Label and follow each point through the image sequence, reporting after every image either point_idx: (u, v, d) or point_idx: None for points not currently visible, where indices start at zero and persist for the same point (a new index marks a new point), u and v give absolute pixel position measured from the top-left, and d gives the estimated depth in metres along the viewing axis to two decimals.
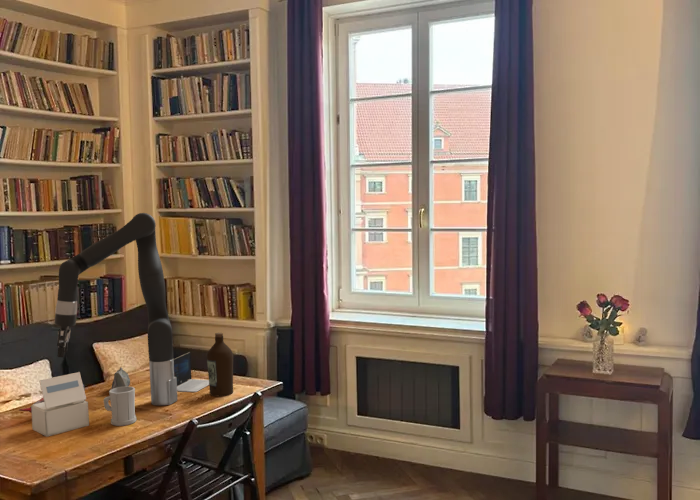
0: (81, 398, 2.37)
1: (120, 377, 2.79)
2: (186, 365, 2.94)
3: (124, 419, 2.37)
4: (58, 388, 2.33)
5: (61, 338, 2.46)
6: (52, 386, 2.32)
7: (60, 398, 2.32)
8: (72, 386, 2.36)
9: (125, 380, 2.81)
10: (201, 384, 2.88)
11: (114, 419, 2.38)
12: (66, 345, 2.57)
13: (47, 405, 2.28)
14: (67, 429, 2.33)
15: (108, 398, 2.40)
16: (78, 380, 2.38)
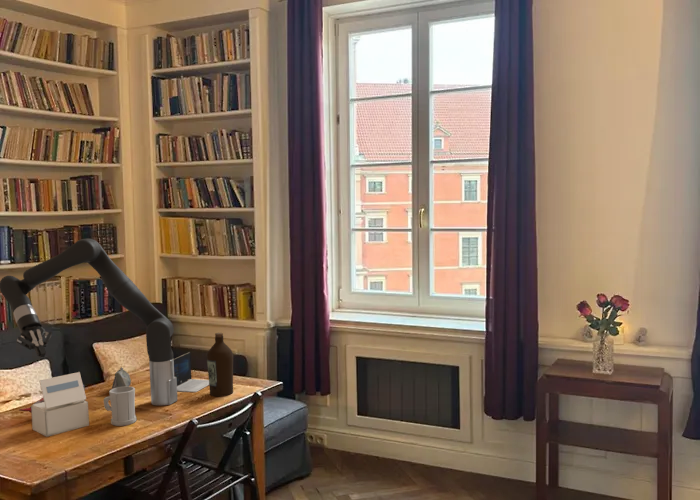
0: (81, 398, 2.37)
1: (120, 377, 2.79)
2: (186, 365, 2.94)
3: (124, 419, 2.37)
4: (58, 388, 2.33)
5: (23, 343, 2.44)
6: (52, 386, 2.32)
7: (60, 398, 2.32)
8: (72, 386, 2.36)
9: (125, 380, 2.81)
10: (201, 384, 2.88)
11: (114, 419, 2.38)
12: None
13: (47, 405, 2.28)
14: (67, 429, 2.33)
15: (108, 398, 2.40)
16: (78, 380, 2.38)
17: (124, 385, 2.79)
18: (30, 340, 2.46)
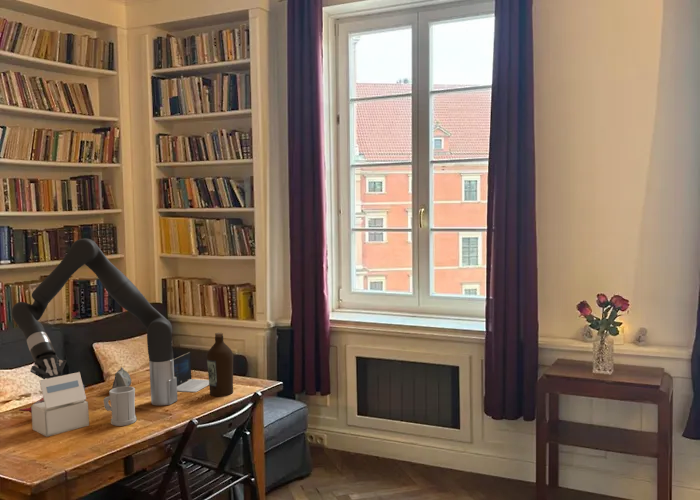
0: (81, 398, 2.37)
1: (120, 377, 2.79)
2: (186, 365, 2.94)
3: (124, 419, 2.37)
4: (58, 388, 2.33)
5: (37, 373, 2.37)
6: (52, 386, 2.32)
7: (60, 398, 2.32)
8: (72, 386, 2.36)
9: (125, 380, 2.80)
10: (201, 384, 2.88)
11: (114, 419, 2.38)
12: None
13: (47, 405, 2.28)
14: (67, 429, 2.33)
15: (108, 398, 2.40)
16: (78, 380, 2.38)
17: (124, 385, 2.79)
18: (44, 369, 2.39)
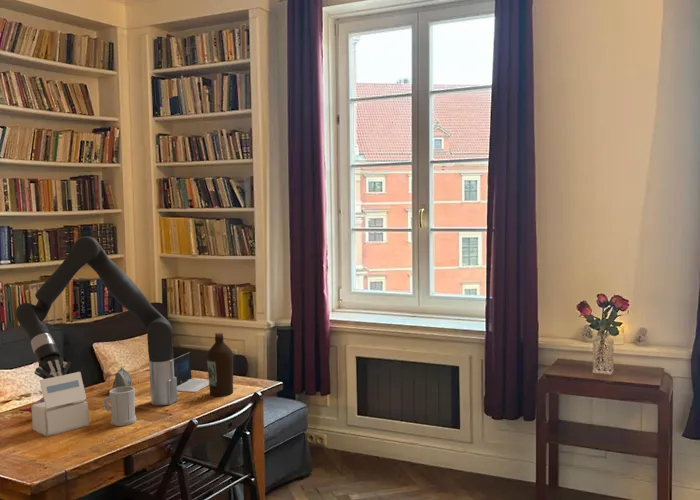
0: (81, 398, 2.37)
1: (121, 377, 2.79)
2: (186, 365, 2.94)
3: (124, 419, 2.37)
4: (58, 388, 2.32)
5: (41, 375, 2.34)
6: (53, 385, 2.32)
7: (60, 398, 2.32)
8: (72, 386, 2.36)
9: (126, 380, 2.80)
10: (201, 384, 2.88)
11: (114, 419, 2.38)
12: None
13: (47, 405, 2.28)
14: (67, 429, 2.33)
15: (108, 398, 2.40)
16: (78, 380, 2.38)
17: (124, 385, 2.79)
18: (48, 371, 2.36)
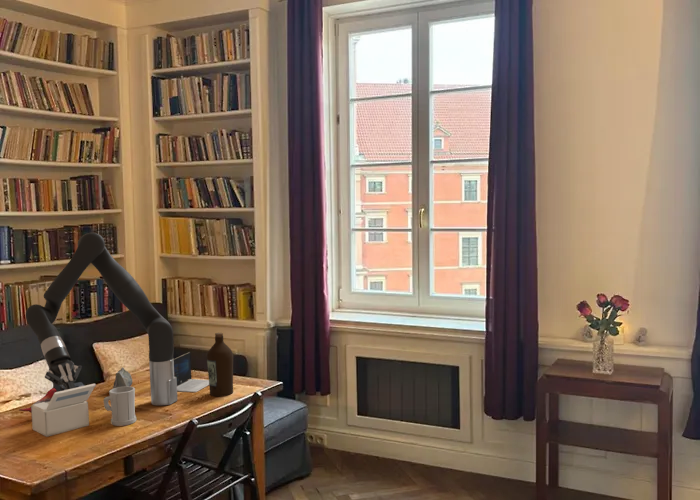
0: (82, 400, 2.36)
1: (121, 377, 2.79)
2: (186, 365, 2.94)
3: (124, 419, 2.37)
4: (67, 397, 2.28)
5: (52, 379, 2.28)
6: (63, 396, 2.26)
7: (64, 402, 2.30)
8: (81, 394, 2.32)
9: (126, 380, 2.80)
10: (201, 384, 2.88)
11: (114, 419, 2.38)
12: None
13: (49, 408, 2.27)
14: (67, 429, 2.33)
15: (108, 398, 2.40)
16: (89, 390, 2.33)
17: (124, 385, 2.79)
18: (59, 375, 2.30)
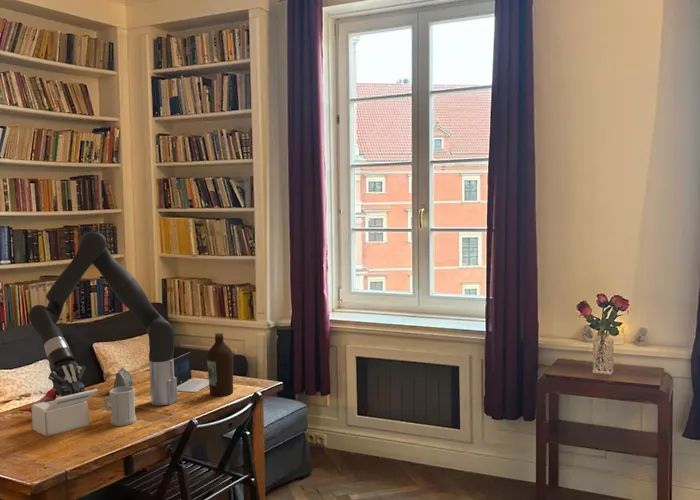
0: (82, 401, 2.36)
1: (121, 377, 2.79)
2: (186, 365, 2.94)
3: (124, 419, 2.37)
4: (68, 400, 2.28)
5: (56, 380, 2.26)
6: (65, 400, 2.26)
7: (64, 404, 2.30)
8: (82, 397, 2.31)
9: (126, 380, 2.80)
10: (201, 384, 2.88)
11: (114, 419, 2.38)
12: None
13: (49, 409, 2.27)
14: (67, 429, 2.33)
15: (108, 398, 2.40)
16: (90, 394, 2.32)
17: (124, 385, 2.79)
18: (63, 376, 2.28)
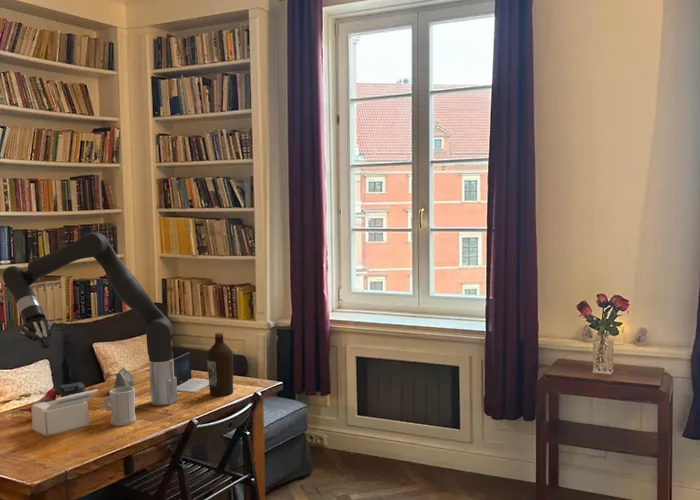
0: (82, 401, 2.36)
1: (121, 377, 2.79)
2: (186, 365, 2.94)
3: (124, 419, 2.37)
4: (68, 400, 2.28)
5: (27, 335, 2.41)
6: (65, 400, 2.26)
7: (64, 404, 2.30)
8: (82, 398, 2.31)
9: (126, 380, 2.80)
10: (201, 384, 2.88)
11: (114, 419, 2.38)
12: None
13: (49, 409, 2.27)
14: (67, 429, 2.33)
15: (108, 398, 2.40)
16: (90, 394, 2.32)
17: (125, 385, 2.79)
18: (34, 331, 2.43)
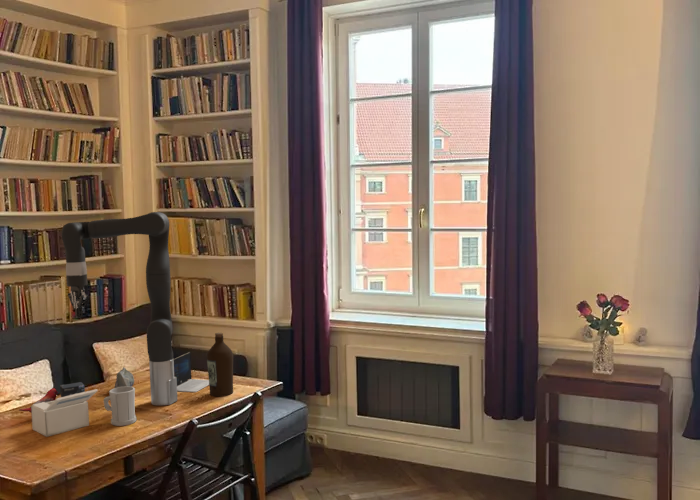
0: (82, 401, 2.36)
1: (121, 377, 2.78)
2: (186, 365, 2.94)
3: (124, 419, 2.37)
4: (68, 400, 2.28)
5: None
6: (65, 400, 2.26)
7: (64, 404, 2.30)
8: (82, 398, 2.31)
9: (127, 380, 2.80)
10: (201, 384, 2.88)
11: (114, 419, 2.38)
12: None
13: (49, 409, 2.27)
14: (67, 429, 2.33)
15: (108, 398, 2.40)
16: (90, 394, 2.32)
17: (125, 385, 2.78)
18: None
